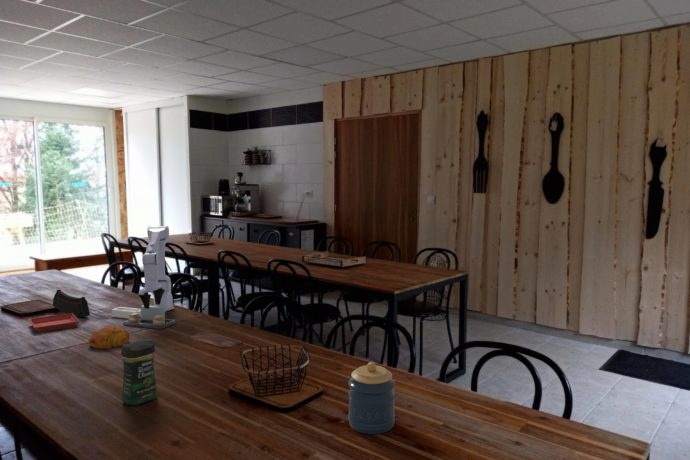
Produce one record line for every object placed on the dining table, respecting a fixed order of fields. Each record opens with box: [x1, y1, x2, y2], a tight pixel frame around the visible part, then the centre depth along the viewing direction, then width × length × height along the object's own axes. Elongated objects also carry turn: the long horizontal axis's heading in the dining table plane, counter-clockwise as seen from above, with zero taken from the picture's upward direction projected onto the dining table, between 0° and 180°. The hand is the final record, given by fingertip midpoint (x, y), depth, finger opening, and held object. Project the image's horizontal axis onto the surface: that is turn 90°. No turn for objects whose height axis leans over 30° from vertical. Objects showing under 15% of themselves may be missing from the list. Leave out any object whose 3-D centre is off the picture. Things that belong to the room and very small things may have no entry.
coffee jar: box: [120, 338, 158, 406], centre depth 152 cm, size 10×8×19 cm
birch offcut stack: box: [127, 313, 140, 323], centre depth 233 cm, size 4×4×5 cm
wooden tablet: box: [189, 331, 243, 350], centre depth 210 cm, size 26×2×10 cm
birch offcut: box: [153, 315, 164, 323], centre depth 229 cm, size 3×3×2 cm
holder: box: [110, 306, 141, 320], centre depth 246 cm, size 6×16×4 cm, turn 71°
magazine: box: [52, 289, 91, 318], centre depth 251 cm, size 17×3×30 cm
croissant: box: [87, 325, 131, 350], centre depth 205 cm, size 14×16×8 cm
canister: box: [347, 361, 396, 435], centre depth 137 cm, size 13×13×18 cm
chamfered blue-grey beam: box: [140, 304, 166, 321], centre depth 235 cm, size 2×12×8 cm, turn 71°
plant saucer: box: [29, 313, 80, 333], centre depth 231 cm, size 18×18×3 cm
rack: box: [122, 316, 176, 330], centre depth 233 cm, size 10×22×2 cm, turn 71°
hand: (152, 306), depth 234 cm, fingers open, 7 cm apart
